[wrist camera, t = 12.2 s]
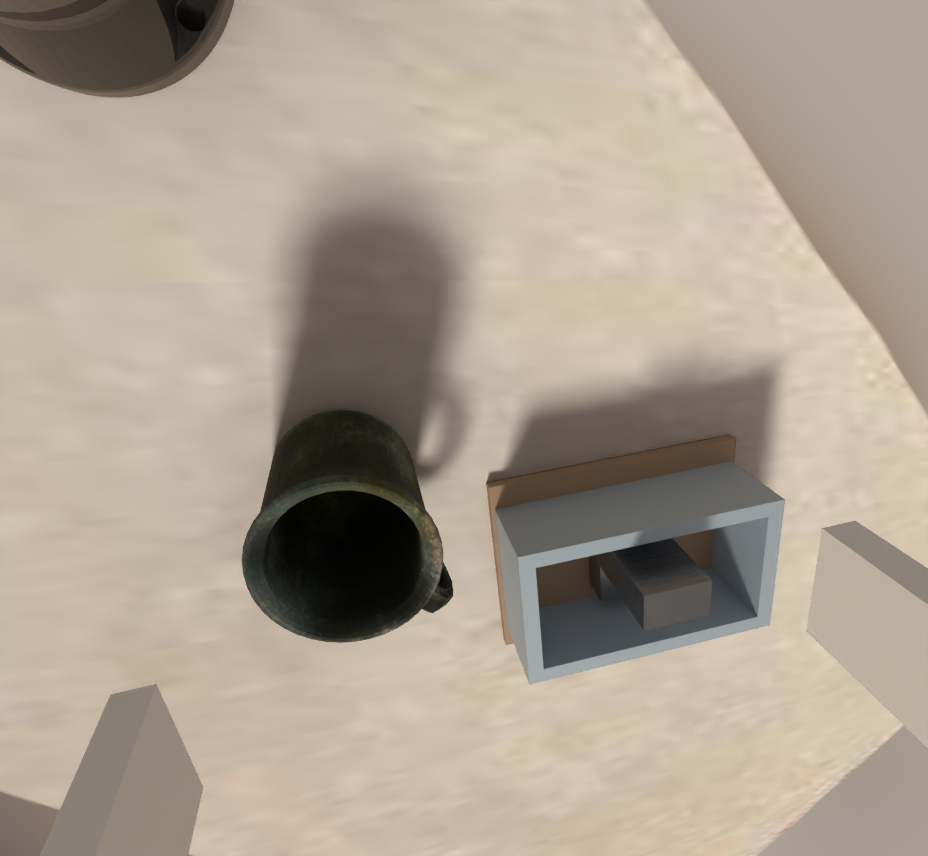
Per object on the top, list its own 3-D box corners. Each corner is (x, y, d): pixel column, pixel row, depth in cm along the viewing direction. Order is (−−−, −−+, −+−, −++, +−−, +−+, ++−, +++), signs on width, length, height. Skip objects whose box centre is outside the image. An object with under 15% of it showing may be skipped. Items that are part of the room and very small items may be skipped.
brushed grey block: (587, 519, 49) (644, 596, 40) (643, 507, 49) (712, 580, 40) (589, 582, 51) (643, 668, 42) (643, 570, 52) (707, 652, 43)
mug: (332, 370, 41) (330, 438, 30) (477, 487, 47) (520, 580, 36) (233, 479, 42) (197, 581, 32) (385, 580, 48) (399, 695, 37)
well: (486, 483, 47) (511, 533, 40) (730, 434, 49) (791, 474, 43) (503, 638, 53) (527, 704, 46) (718, 588, 56) (770, 643, 49)
